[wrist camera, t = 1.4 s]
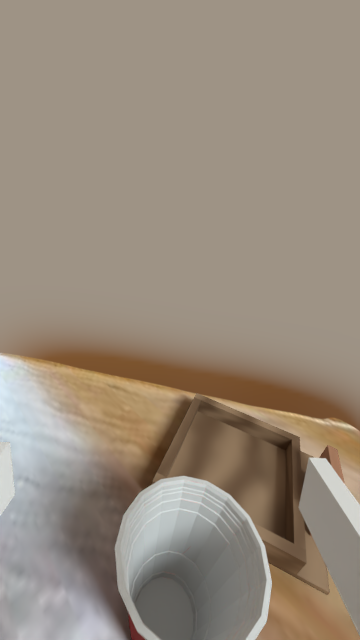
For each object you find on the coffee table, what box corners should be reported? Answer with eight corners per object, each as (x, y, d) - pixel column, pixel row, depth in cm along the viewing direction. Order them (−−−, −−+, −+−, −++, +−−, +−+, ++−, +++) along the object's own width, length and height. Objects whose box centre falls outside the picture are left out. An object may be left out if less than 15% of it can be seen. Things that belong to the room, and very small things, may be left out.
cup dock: (148, 496, 32) (159, 455, 29) (192, 406, 47) (203, 372, 44) (327, 594, 28) (364, 558, 24) (313, 459, 43) (334, 425, 39)
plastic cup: (209, 541, 30) (244, 472, 24) (238, 714, 20) (305, 660, 15) (108, 541, 28) (122, 466, 22) (86, 734, 18) (102, 680, 13)
